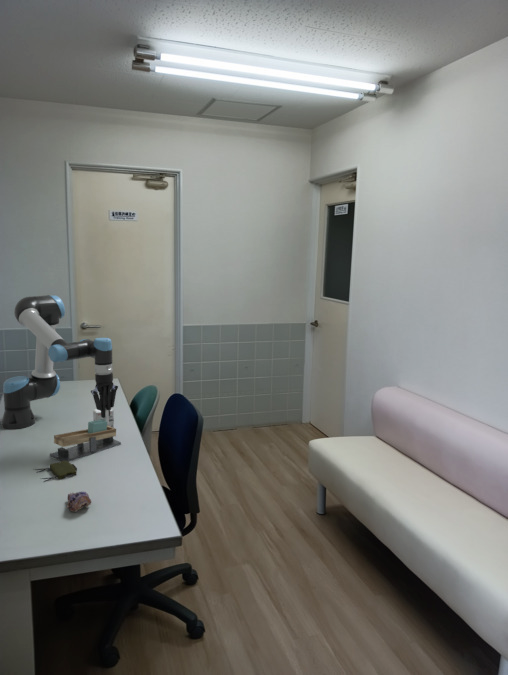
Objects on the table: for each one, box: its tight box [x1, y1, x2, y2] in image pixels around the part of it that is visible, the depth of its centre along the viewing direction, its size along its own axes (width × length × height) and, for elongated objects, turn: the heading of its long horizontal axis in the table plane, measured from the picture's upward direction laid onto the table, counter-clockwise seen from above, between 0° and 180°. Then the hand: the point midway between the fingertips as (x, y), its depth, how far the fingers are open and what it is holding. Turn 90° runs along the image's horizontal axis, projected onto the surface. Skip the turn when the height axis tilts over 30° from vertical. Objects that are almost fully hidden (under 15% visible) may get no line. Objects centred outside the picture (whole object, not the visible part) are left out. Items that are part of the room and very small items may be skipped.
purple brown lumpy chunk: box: [66, 491, 92, 512], centre depth 173 cm, size 12×8×6 cm, turn 33°
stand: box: [49, 437, 122, 463], centre depth 221 cm, size 11×28×7 cm, turn 140°
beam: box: [53, 426, 117, 448], centre depth 220 cm, size 8×26×3 cm, turn 140°
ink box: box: [92, 408, 115, 428], centre depth 241 cm, size 9×5×12 cm, turn 123°
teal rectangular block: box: [87, 420, 107, 434], centre depth 224 cm, size 4×7×5 cm, turn 141°
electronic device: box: [33, 460, 78, 483], centre depth 198 cm, size 14×3×15 cm
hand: (105, 423), depth 228 cm, fingers closed
